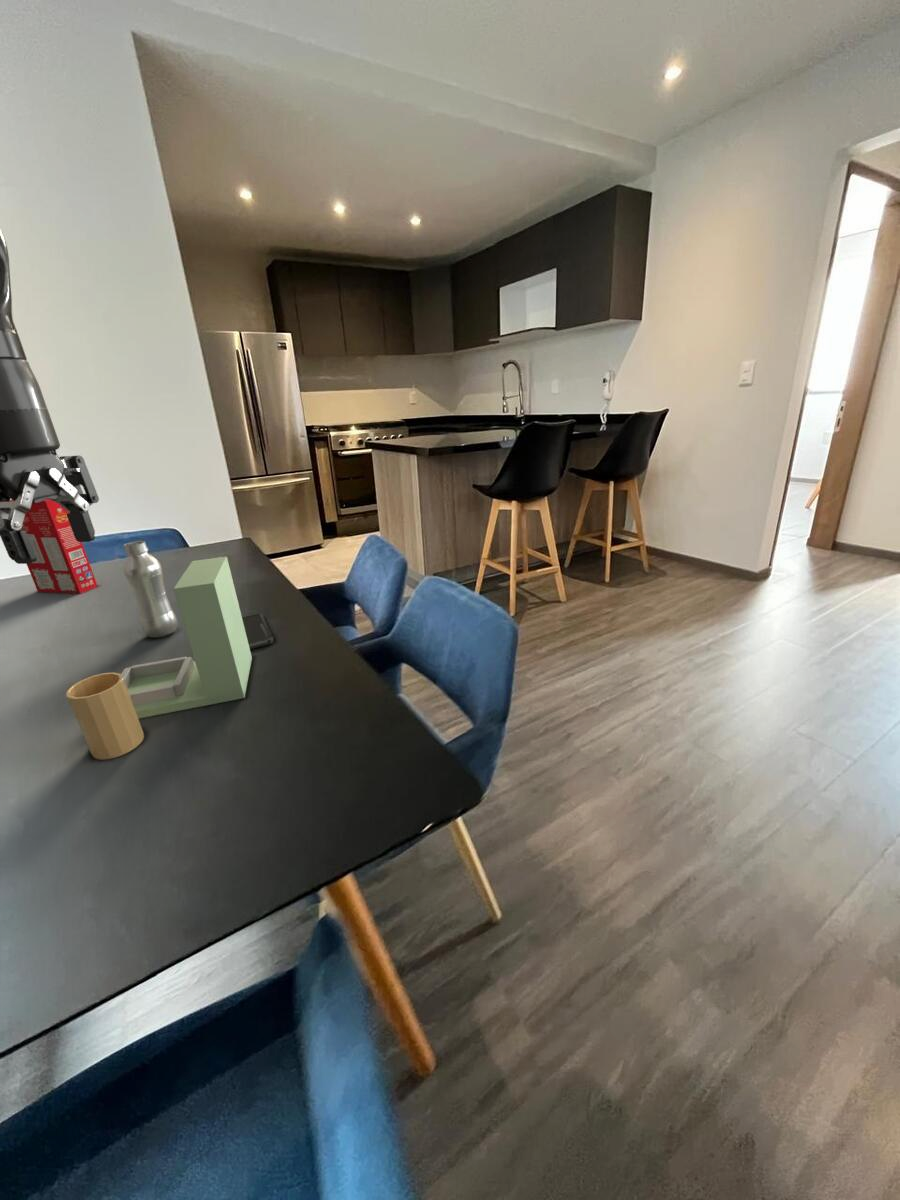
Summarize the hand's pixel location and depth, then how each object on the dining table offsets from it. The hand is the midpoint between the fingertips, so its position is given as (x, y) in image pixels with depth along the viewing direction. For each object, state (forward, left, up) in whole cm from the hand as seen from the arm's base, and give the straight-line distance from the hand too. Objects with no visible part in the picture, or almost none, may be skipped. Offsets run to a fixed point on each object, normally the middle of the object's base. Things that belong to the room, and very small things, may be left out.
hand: (58, 551), depth 59 cm
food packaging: (-39, +83, -29) cm, 96 cm away
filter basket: (-2, 0, -29) cm, 29 cm away
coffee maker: (+4, +13, -29) cm, 32 cm away
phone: (+13, +31, -29) cm, 44 cm away
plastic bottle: (-5, +39, -29) cm, 49 cm away
